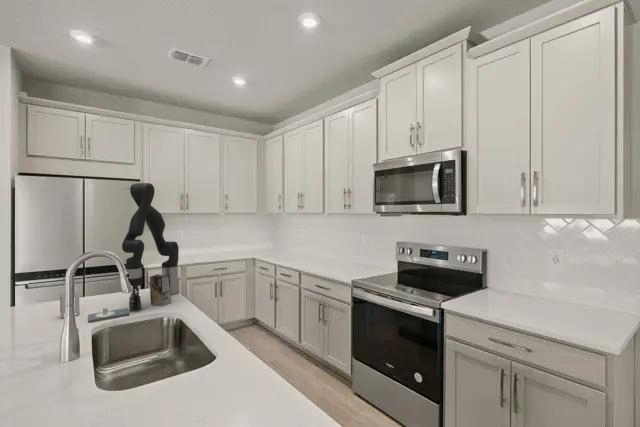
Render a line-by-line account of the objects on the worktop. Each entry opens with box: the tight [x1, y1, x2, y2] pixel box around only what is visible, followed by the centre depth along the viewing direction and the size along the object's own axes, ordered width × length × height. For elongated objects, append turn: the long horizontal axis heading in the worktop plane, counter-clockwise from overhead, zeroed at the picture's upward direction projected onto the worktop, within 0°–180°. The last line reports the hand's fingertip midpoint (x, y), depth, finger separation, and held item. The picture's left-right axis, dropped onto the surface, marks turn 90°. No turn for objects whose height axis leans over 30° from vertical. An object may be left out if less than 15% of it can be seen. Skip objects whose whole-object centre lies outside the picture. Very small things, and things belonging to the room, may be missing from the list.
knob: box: [128, 295, 142, 313], centre depth 172 cm, size 5×5×7 cm
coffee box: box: [149, 274, 172, 307], centre depth 182 cm, size 9×6×16 cm
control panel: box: [87, 307, 130, 324], centre depth 162 cm, size 17×11×4 cm, turn 126°
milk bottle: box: [59, 277, 81, 319], centre depth 163 cm, size 8×8×20 cm
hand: (135, 307), depth 172 cm, fingers closed on knob, 5 cm apart
